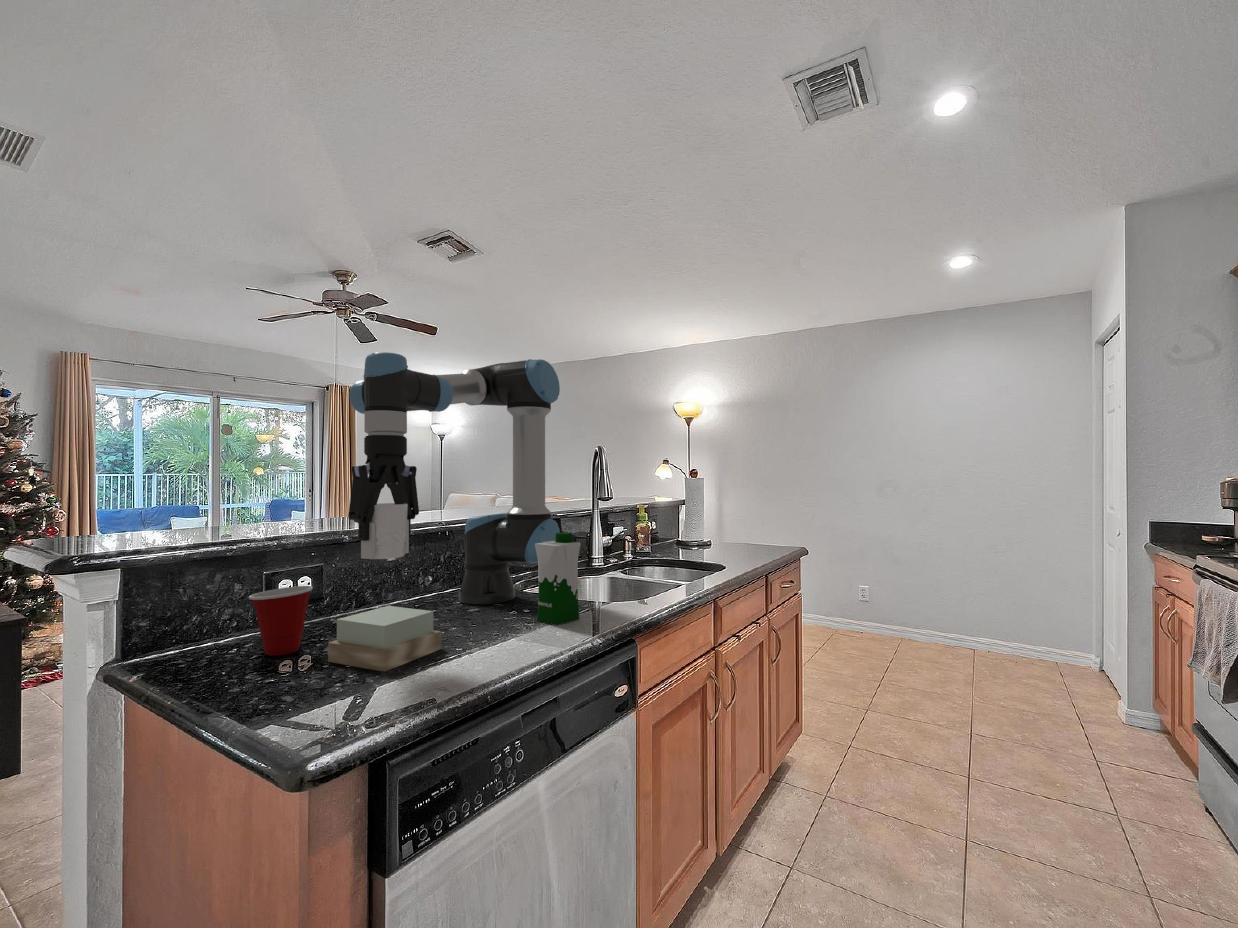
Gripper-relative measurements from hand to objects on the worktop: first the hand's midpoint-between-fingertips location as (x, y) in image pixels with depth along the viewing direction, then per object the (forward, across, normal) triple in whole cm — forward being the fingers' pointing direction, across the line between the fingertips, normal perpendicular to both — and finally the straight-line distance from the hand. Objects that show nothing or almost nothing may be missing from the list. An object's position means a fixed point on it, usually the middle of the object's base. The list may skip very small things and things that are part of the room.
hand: (385, 555), depth 107 cm
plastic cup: (+19, +6, -21) cm, 29 cm away
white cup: (0, 0, 0) cm, 0 cm away
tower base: (+19, 0, 0) cm, 19 cm away
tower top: (+15, 0, 0) cm, 15 cm away
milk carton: (+19, -35, +17) cm, 43 cm away
